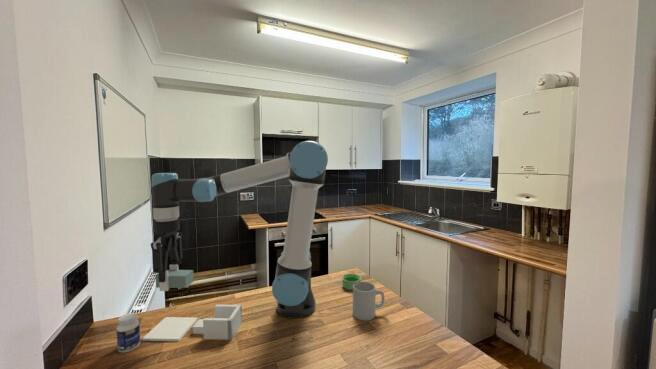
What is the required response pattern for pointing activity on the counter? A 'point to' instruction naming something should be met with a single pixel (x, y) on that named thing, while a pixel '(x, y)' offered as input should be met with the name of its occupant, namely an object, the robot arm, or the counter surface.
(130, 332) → the pill bottle
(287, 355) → the counter surface
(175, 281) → the bar
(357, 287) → the mug
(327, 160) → the robot arm
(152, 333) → the plate
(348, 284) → the ramekin
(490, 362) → the counter surface
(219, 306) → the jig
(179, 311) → the counter surface
